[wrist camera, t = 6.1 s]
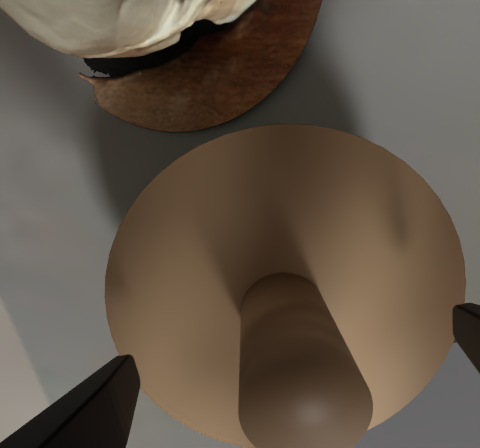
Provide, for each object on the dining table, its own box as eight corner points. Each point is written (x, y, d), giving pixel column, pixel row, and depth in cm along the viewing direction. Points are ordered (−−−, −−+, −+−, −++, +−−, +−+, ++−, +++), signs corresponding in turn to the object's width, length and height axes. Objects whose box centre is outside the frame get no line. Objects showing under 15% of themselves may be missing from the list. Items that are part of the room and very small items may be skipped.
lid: (447, 91, 9) (657, 33, 4) (451, 410, 12) (581, 576, 7) (70, 163, 10) (-86, 179, 5) (160, 448, 13) (111, 620, 8)
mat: (560, 321, 15) (568, 326, 15) (545, 495, 18) (552, 502, 18) (324, 355, 16) (326, 361, 16) (346, 517, 19) (348, 525, 19)
